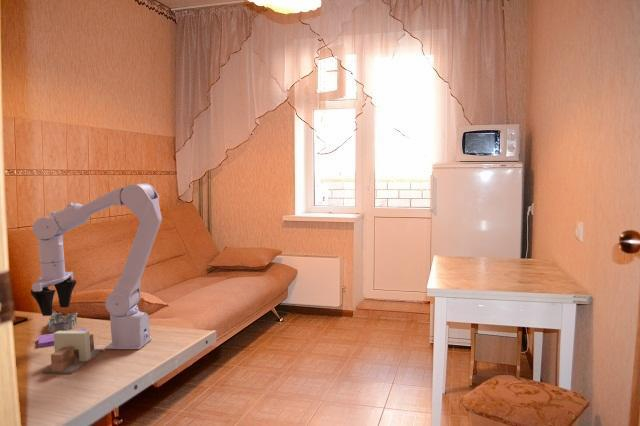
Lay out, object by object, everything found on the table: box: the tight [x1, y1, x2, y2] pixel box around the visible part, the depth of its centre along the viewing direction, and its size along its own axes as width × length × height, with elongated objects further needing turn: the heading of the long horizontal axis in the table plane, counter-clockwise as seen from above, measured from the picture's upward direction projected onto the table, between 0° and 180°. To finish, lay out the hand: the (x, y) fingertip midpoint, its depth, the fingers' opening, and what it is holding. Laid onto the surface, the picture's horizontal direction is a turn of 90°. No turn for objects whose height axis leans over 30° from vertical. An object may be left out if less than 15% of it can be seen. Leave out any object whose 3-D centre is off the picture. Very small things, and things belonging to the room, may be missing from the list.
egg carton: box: [46, 310, 79, 333], centre depth 150 cm, size 11×8×4 cm
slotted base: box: [42, 333, 104, 375], centre depth 121 cm, size 14×7×5 cm, turn 175°
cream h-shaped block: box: [52, 330, 91, 361], centre depth 121 cm, size 8×2×7 cm, turn 85°
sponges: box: [37, 327, 88, 348], centre depth 138 cm, size 7×13×2 cm, turn 118°
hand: (56, 311), depth 131 cm, fingers open, 7 cm apart
